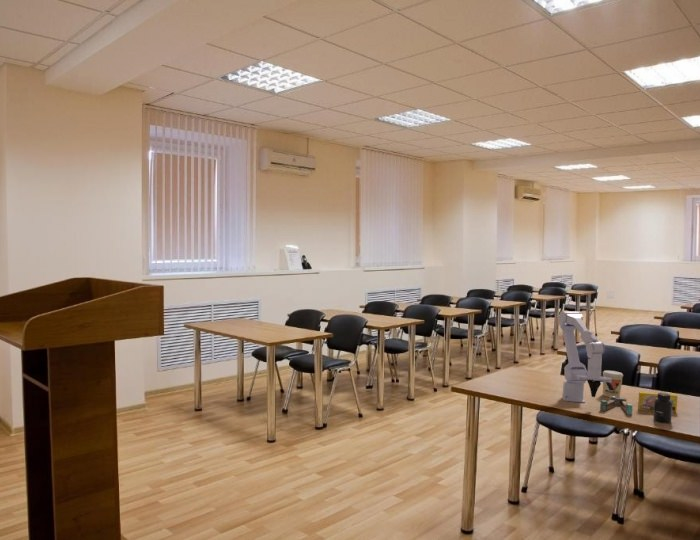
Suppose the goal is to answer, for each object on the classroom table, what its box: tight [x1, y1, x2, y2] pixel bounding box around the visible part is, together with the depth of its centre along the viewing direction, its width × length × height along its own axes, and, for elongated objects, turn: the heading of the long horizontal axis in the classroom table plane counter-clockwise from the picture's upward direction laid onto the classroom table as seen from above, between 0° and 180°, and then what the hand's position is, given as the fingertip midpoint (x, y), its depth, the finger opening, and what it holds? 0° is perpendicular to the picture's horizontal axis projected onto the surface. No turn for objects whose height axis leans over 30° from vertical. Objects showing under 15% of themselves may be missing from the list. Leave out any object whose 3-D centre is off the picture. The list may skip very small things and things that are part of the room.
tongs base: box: [609, 396, 633, 416], centre depth 253 cm, size 7×17×4 cm, turn 164°
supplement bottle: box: [653, 392, 673, 424], centre depth 236 cm, size 7×7×12 cm
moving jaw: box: [599, 399, 616, 412], centre depth 254 cm, size 2×12×4 cm, turn 134°
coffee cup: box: [602, 370, 624, 398], centre depth 277 cm, size 9×9×12 cm
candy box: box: [637, 391, 678, 413], centre depth 252 cm, size 16×2×8 cm, turn 80°
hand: (593, 396), depth 252 cm, fingers closed
